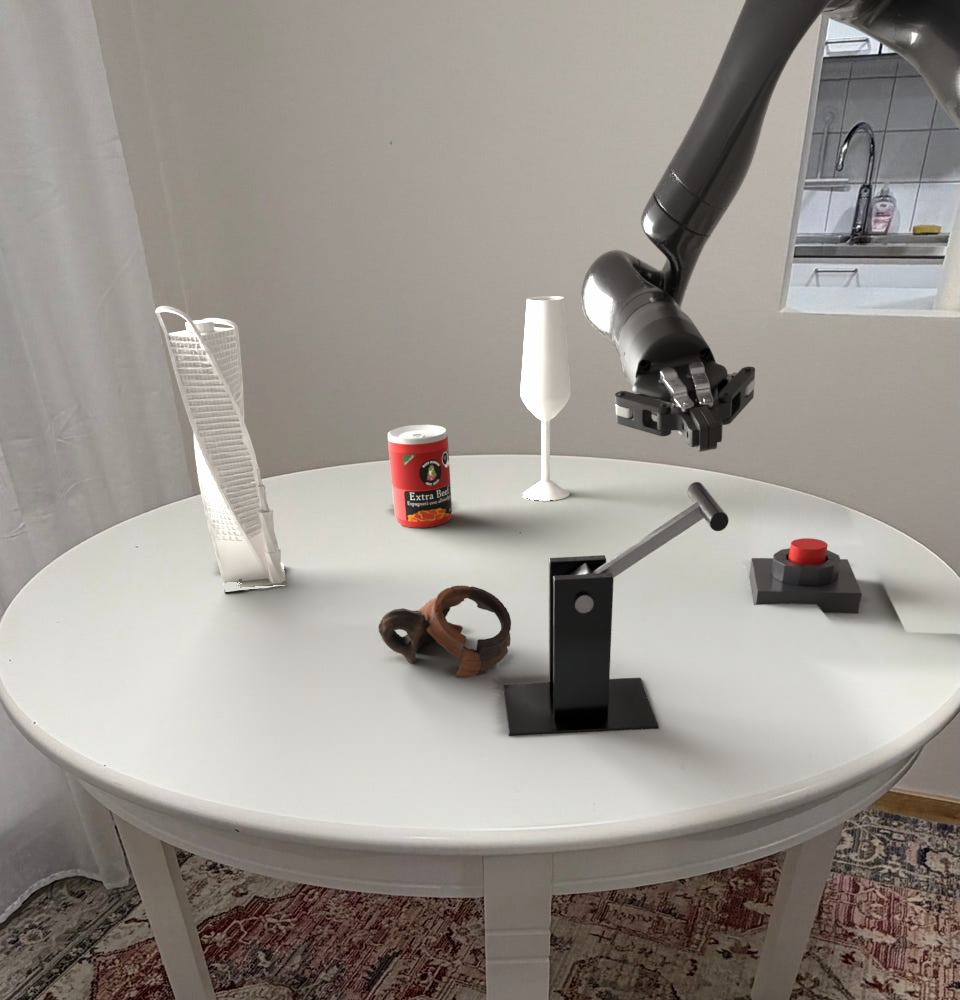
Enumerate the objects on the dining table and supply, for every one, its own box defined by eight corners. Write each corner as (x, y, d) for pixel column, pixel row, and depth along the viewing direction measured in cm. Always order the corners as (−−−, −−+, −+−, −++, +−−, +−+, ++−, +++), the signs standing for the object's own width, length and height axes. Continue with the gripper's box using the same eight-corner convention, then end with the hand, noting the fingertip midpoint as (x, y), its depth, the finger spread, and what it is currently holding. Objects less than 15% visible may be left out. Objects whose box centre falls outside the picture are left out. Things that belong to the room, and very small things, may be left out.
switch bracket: (639, 689, 84) (648, 544, 76) (658, 739, 76) (669, 584, 69) (503, 696, 84) (499, 551, 76) (509, 746, 76) (504, 592, 69)
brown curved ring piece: (481, 639, 95) (509, 579, 88) (498, 715, 91) (529, 658, 84) (364, 628, 91) (384, 564, 84) (376, 707, 86) (398, 646, 80)
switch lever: (710, 498, 74) (695, 472, 73) (735, 530, 67) (720, 502, 66) (567, 593, 78) (551, 570, 77) (578, 632, 71) (561, 607, 70)
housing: (844, 579, 103) (851, 542, 101) (858, 614, 95) (865, 575, 93) (749, 577, 105) (753, 541, 102) (754, 612, 97) (760, 573, 94)
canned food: (407, 532, 123) (399, 441, 116) (386, 516, 129) (378, 429, 122) (462, 522, 125) (457, 433, 119) (439, 507, 131) (433, 421, 125)
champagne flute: (512, 495, 134) (507, 300, 120) (545, 485, 138) (544, 294, 124) (546, 503, 130) (546, 302, 116) (579, 493, 134) (583, 296, 120)
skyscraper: (211, 594, 107) (150, 311, 91) (212, 571, 114) (156, 302, 97) (286, 586, 109) (239, 304, 92) (283, 563, 115) (239, 296, 99)
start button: (822, 555, 99) (825, 538, 98) (826, 567, 96) (829, 549, 95) (786, 554, 99) (789, 537, 98) (789, 566, 96) (792, 549, 95)
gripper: (592, 330, 88) (627, 409, 76) (735, 301, 87) (793, 377, 75) (597, 411, 93) (630, 497, 81) (732, 385, 92) (785, 467, 81)
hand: (708, 439), depth 78 cm, fingers closed
